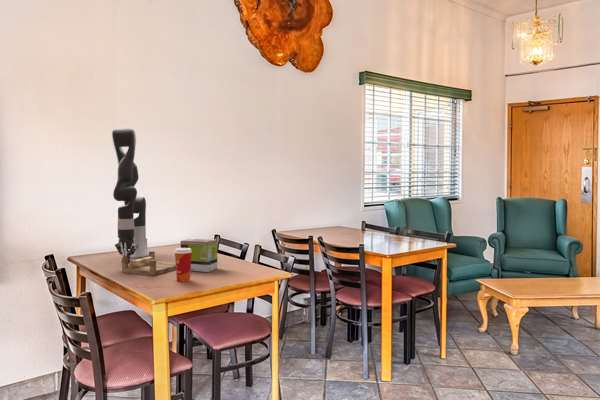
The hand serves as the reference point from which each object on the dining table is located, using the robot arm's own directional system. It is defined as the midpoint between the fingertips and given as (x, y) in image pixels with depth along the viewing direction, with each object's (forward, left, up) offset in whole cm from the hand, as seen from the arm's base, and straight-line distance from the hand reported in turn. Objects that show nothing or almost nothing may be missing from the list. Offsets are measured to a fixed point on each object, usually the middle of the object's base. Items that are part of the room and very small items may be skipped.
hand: (126, 263), depth 232 cm
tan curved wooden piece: (-6, +5, -1) cm, 8 cm away
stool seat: (-6, +10, -3) cm, 13 cm away
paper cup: (+5, +38, -4) cm, 38 cm away
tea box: (-17, +30, -4) cm, 35 cm away
